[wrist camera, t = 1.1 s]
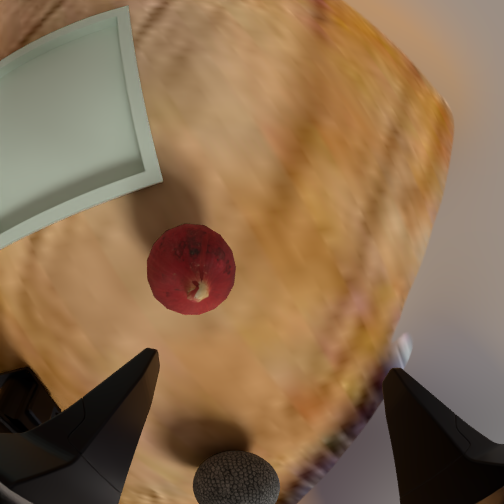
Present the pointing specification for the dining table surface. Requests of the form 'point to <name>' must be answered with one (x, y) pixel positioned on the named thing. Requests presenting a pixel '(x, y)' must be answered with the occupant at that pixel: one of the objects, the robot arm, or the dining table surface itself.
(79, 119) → the tray
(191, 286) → the onion
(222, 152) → the dining table surface
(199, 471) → the decorative ball
